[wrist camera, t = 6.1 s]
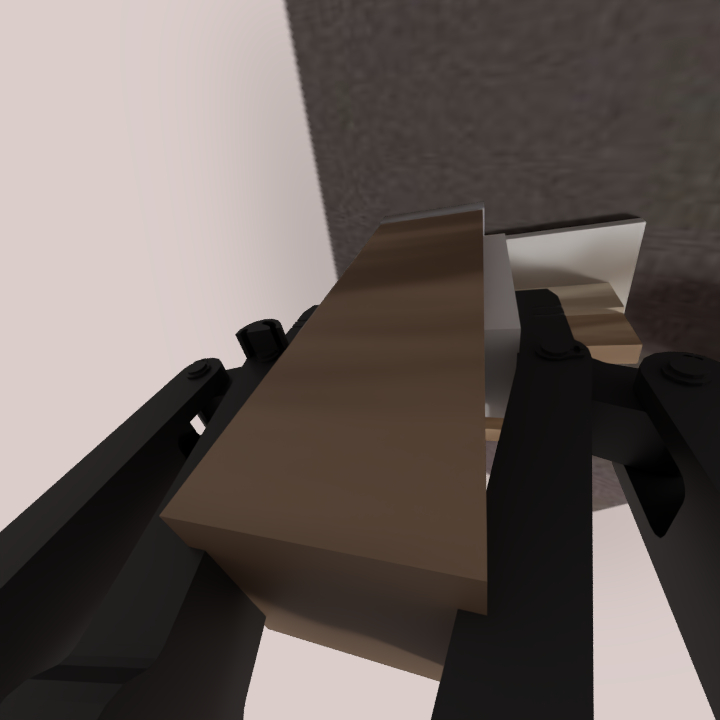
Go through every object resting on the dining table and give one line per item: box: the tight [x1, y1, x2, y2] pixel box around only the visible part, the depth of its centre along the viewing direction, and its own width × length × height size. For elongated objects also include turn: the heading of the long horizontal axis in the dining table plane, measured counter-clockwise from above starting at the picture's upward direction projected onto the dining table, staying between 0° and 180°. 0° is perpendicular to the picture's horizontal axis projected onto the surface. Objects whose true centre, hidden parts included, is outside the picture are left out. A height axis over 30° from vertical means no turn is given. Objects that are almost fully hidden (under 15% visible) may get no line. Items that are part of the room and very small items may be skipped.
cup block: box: [485, 218, 646, 441], centre depth 30 cm, size 20×14×9 cm
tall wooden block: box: [159, 202, 487, 681], centre depth 10 cm, size 4×4×14 cm
